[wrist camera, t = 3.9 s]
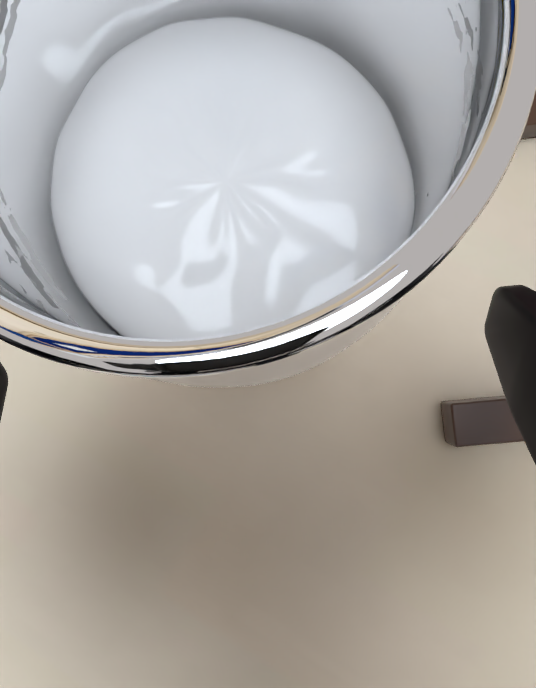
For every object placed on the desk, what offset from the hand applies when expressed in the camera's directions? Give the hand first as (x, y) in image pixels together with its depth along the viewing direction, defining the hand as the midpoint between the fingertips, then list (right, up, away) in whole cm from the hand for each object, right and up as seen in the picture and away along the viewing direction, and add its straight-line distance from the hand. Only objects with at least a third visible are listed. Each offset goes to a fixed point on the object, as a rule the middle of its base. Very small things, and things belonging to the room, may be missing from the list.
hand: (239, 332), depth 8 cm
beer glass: (0, +2, +11) cm, 11 cm away
